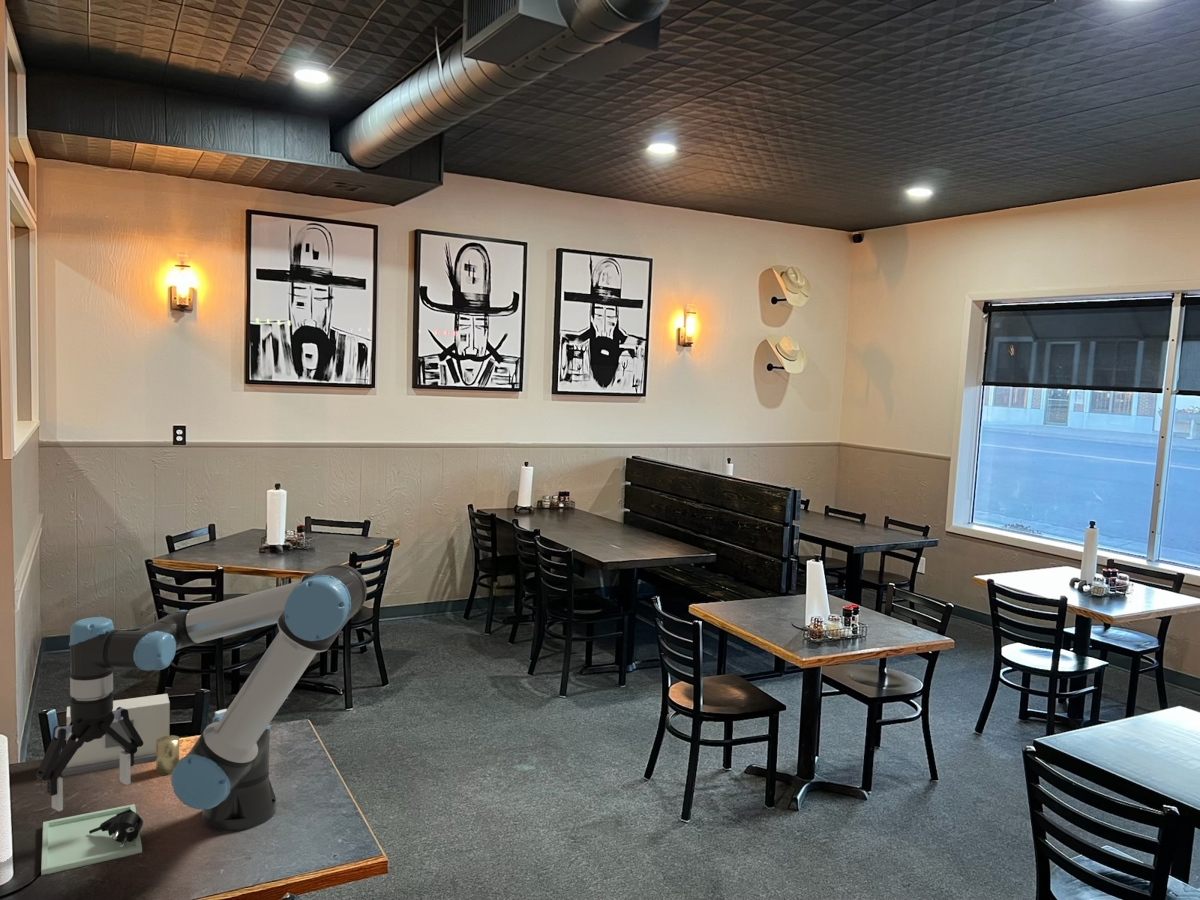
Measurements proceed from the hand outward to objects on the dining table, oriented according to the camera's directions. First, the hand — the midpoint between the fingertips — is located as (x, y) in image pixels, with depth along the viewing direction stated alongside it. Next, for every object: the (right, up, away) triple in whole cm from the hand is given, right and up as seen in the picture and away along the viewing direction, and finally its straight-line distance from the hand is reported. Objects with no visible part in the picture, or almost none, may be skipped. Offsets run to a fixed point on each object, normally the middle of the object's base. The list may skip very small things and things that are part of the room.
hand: (92, 795), depth 175 cm
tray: (-1, -10, +1) cm, 10 cm away
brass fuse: (-1, -7, +33) cm, 33 cm away
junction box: (-16, -6, +38) cm, 41 cm away
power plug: (-2, -10, -1) cm, 10 cm away
